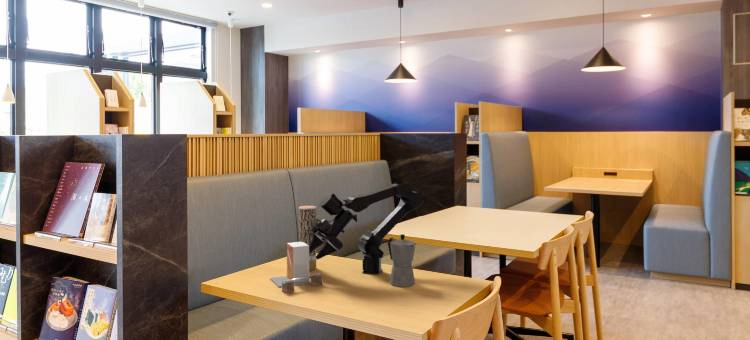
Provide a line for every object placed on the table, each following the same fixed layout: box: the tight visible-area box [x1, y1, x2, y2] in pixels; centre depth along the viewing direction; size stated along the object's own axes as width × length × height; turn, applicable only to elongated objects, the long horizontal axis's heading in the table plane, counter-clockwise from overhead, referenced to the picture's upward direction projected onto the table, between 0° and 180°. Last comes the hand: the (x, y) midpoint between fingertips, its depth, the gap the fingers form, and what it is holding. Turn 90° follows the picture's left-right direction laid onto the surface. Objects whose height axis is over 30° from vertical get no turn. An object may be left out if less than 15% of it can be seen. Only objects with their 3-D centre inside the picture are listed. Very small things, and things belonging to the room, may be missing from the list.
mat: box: [270, 275, 311, 288], centre depth 198 cm, size 12×12×1 cm
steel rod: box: [282, 272, 323, 284], centre depth 189 cm, size 16×1×1 cm, turn 132°
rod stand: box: [281, 275, 323, 294], centre depth 189 cm, size 15×3×3 cm, turn 132°
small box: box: [286, 241, 310, 282], centre depth 199 cm, size 8×6×13 cm
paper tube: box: [298, 205, 317, 272], centre depth 215 cm, size 7×7×25 cm
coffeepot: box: [387, 233, 416, 288], centre depth 195 cm, size 15×9×18 cm, turn 34°
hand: (311, 255), depth 200 cm, fingers open, 9 cm apart
